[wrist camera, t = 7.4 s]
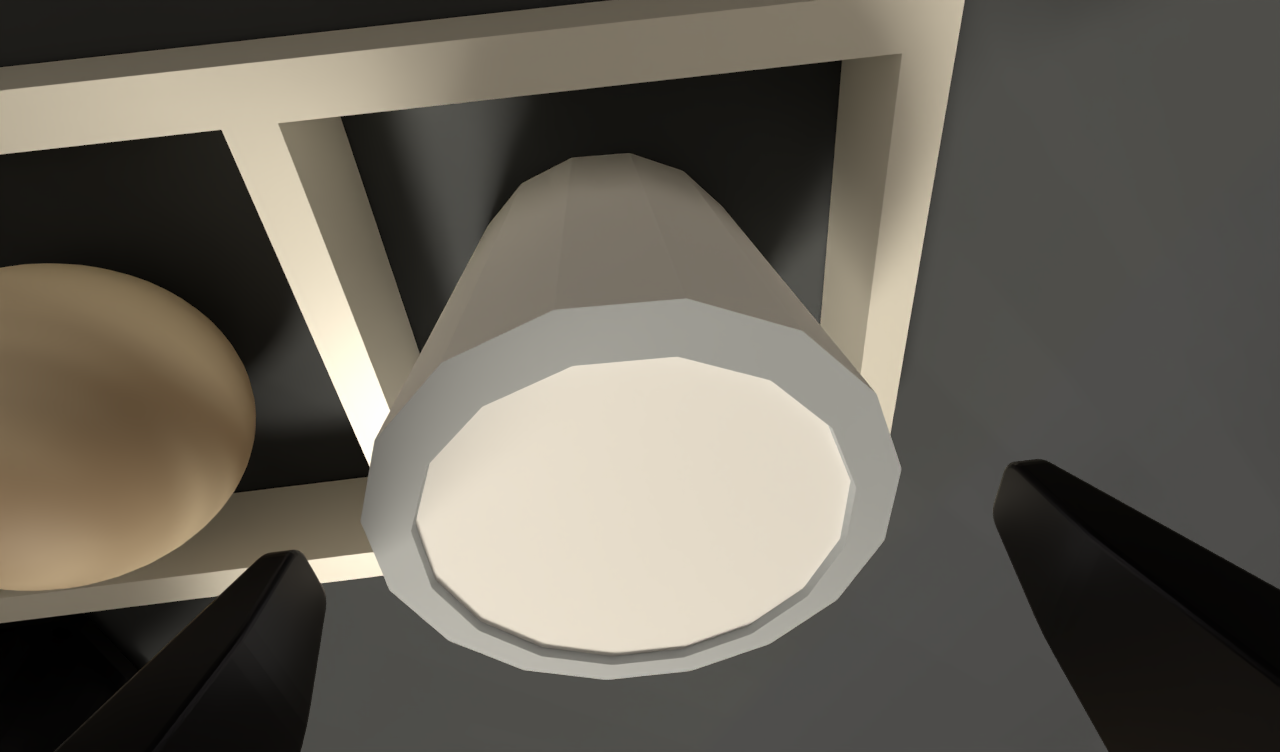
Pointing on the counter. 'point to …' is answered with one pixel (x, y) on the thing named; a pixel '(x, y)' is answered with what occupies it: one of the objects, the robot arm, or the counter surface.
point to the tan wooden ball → (110, 424)
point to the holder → (465, 72)
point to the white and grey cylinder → (625, 439)
